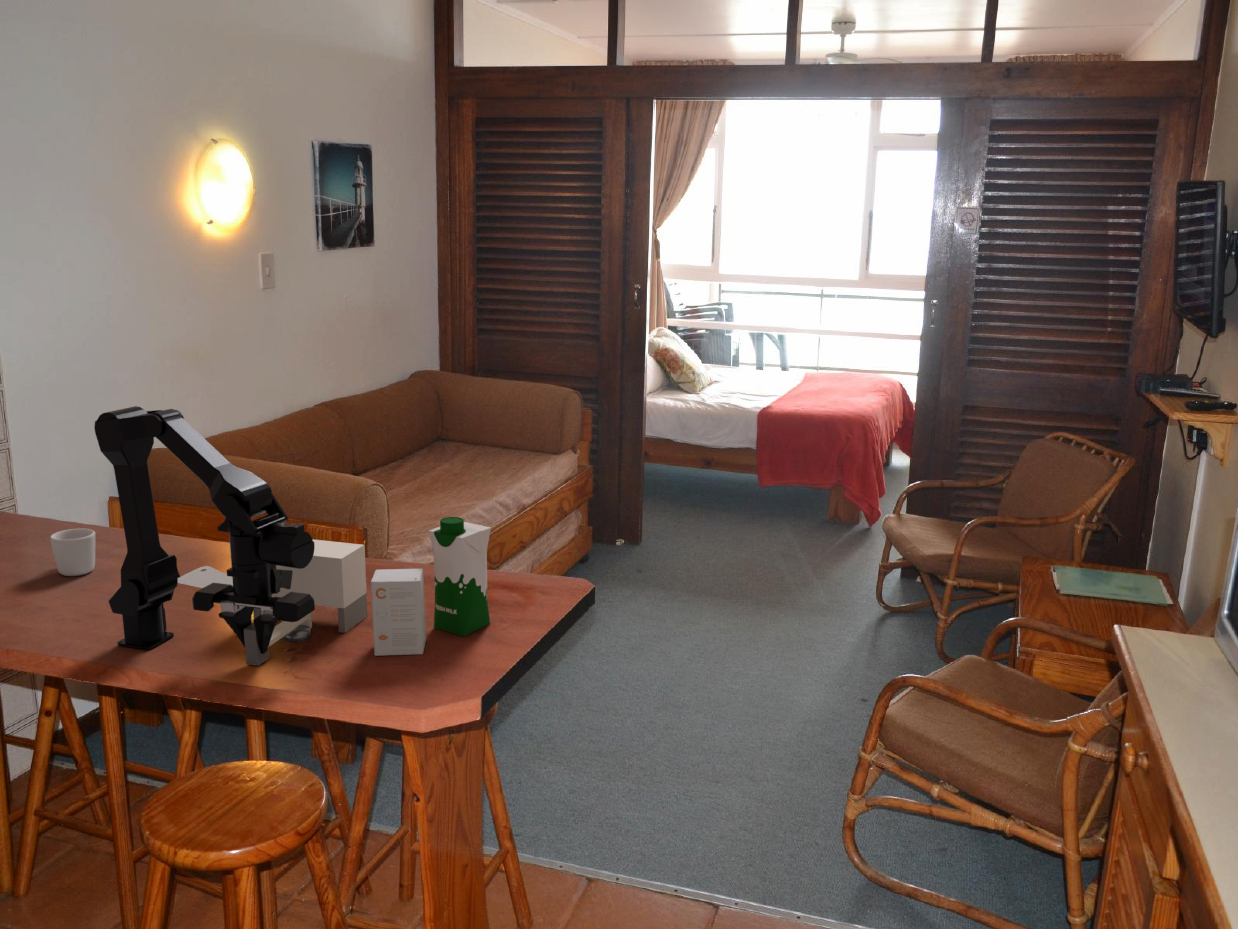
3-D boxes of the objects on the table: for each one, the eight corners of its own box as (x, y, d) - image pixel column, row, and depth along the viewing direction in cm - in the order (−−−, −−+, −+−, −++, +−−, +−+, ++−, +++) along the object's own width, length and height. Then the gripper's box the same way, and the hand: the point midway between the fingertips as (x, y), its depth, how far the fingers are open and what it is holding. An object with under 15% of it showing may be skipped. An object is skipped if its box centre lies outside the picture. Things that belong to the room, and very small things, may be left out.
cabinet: (345, 633, 183) (341, 558, 180) (253, 621, 188) (248, 548, 185) (367, 616, 191) (364, 544, 188) (279, 605, 195) (274, 535, 192)
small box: (426, 640, 181) (424, 567, 178) (423, 655, 175) (421, 580, 172) (378, 641, 180) (375, 568, 177) (373, 656, 174) (370, 581, 171)
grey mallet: (259, 665, 169) (256, 631, 168) (245, 663, 170) (242, 629, 168) (312, 627, 184) (309, 595, 182) (299, 625, 184) (296, 593, 183)
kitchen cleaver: (162, 582, 205) (202, 561, 214) (164, 590, 206) (203, 569, 214) (286, 610, 192) (323, 587, 201) (287, 618, 193) (324, 595, 201)
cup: (56, 564, 216) (51, 526, 214) (99, 559, 219) (95, 522, 217) (53, 581, 206) (48, 542, 204) (98, 576, 209) (94, 537, 208)
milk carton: (426, 628, 186) (423, 519, 181) (460, 612, 193) (458, 507, 189) (464, 639, 181) (462, 527, 177) (498, 623, 189) (496, 515, 184)
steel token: (302, 644, 179) (301, 636, 178) (278, 641, 180) (277, 633, 179) (315, 634, 183) (315, 626, 183) (292, 631, 184) (291, 623, 184)
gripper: (330, 549, 172) (334, 639, 176) (229, 539, 177) (236, 627, 180) (292, 571, 161) (298, 667, 165) (186, 559, 166) (194, 652, 170)
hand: (257, 652), depth 170 cm, fingers closed on grey mallet, 2 cm apart
